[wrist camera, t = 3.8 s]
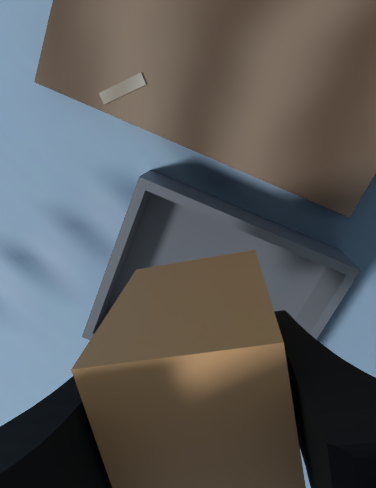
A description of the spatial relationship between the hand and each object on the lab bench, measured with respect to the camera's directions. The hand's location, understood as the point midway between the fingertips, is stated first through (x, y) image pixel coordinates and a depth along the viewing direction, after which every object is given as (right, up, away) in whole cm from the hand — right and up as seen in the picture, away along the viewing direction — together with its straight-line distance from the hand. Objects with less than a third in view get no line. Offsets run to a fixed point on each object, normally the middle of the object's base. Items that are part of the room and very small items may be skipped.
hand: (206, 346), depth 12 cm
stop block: (0, +1, +1) cm, 2 cm away
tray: (+1, +1, +9) cm, 10 cm away
